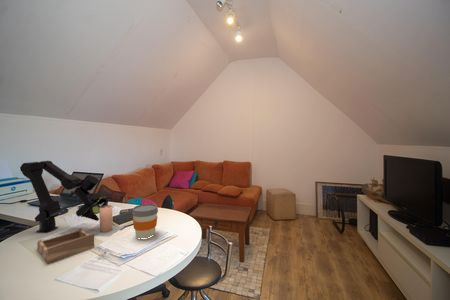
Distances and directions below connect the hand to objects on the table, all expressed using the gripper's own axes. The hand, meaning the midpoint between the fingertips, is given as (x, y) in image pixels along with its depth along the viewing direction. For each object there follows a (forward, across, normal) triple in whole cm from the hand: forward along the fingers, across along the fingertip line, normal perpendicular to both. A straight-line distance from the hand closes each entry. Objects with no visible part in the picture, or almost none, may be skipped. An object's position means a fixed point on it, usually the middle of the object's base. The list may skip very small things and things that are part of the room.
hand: (104, 216), depth 107 cm
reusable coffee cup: (+23, -2, -11) cm, 26 cm away
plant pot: (-12, +30, +25) cm, 40 cm away
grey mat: (+7, 0, +5) cm, 8 cm away
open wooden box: (+2, -19, +9) cm, 21 cm away
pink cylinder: (+6, 0, +4) cm, 7 cm away
